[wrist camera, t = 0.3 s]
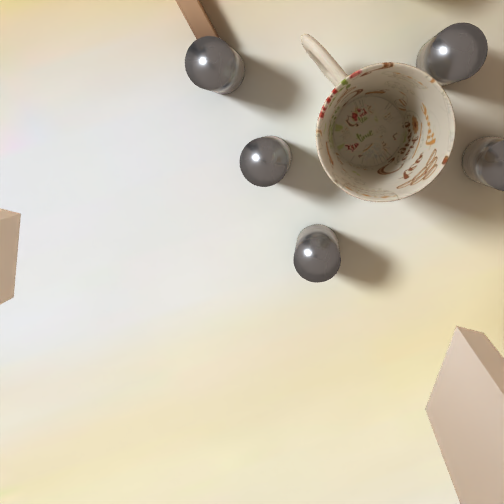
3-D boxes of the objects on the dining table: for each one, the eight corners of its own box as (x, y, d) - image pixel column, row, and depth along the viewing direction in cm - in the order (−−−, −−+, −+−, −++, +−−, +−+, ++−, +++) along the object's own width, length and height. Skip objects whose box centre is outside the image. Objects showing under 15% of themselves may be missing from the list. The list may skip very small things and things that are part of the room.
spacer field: (193, 62, 39) (175, 53, 34) (407, -77, 35) (421, -109, 30) (308, 271, 42) (307, 289, 38) (517, 168, 38) (546, 175, 33)
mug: (360, 203, 40) (373, 229, 31) (261, 88, 39) (242, 76, 29) (443, 135, 38) (485, 140, 28) (341, 10, 37) (350, -29, 27)
